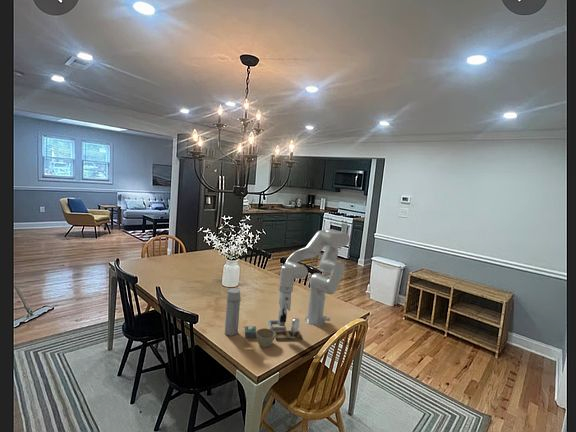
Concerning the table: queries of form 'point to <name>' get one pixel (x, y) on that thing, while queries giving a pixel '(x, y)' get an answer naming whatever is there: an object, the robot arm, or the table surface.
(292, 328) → the billet
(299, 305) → the table surface
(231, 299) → the water bottle
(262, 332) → the flower pot
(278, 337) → the pallet board
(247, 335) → the console
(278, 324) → the billet
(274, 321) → the tote
